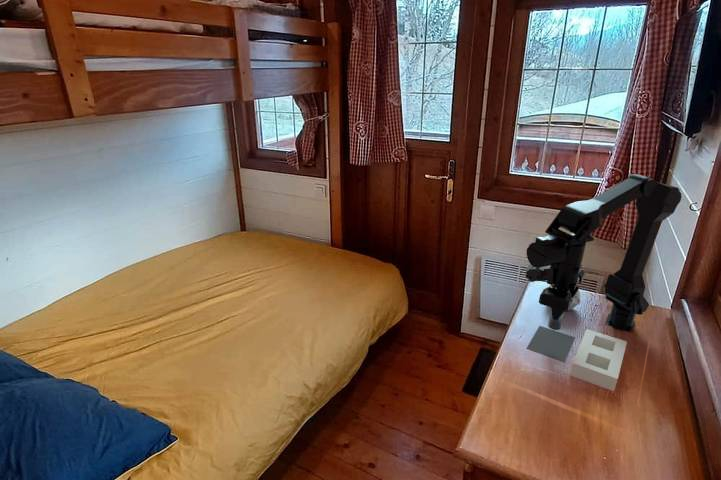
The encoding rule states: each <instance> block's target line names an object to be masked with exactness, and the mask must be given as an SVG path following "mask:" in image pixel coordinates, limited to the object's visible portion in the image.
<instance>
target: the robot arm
mask: <svg viewBox="0 0 721 480" xmlns="http://www.w3.org/2000/svg"><path fill="white" fill-rule="evenodd" d="M681 200H682V192H681V191H680V188H679V187H677V186H673V185H671V184H670V185H669V184H666V183H662V182H659V181H657V180H655V179H653V178H651V177H648V176H645V175H642V174H641V175H640V174H636V173H634V174H630V175H628V176H627V178H626V179H625V180H623V181H620V182H619V183H618V184H616V185H614V186H612V187H610V188H609V189H606V190H605V191H603V192H602V193H600V194H598V195H597V196H595V197H593V198H591V199H588V200H579V201H574V202H571V203H569V204H566V205H564V206H563V207H562V208H561V209H560V210H559V212H558V213H557V214H556V216H555V217H554V218H553V220H552V221H551V223H550V224H549V225H548V227H547V228H546V230H545V234H547V236H537V237H536V238H535V241H534V242H531V243H530V244H528V247H527V248H526V259H527V260H528V262H529V265H528V267H527V268H526V270H525V271H526V273H525V274H526V275H525V278H527V279H528V282H529V283H535V282H546V284H547V285H549V286H550V285H551V286H552V287H553V288H550V287H549V286H548V287H546V288H544V289H542V291H541V293H540V295H539V299H538V304H540V305H542V306H545V307H549V308H550V312H551V311H552V318H553V319H554V320H558V319H559V317H560V316H561V315H562V314H563V313H564V314H565V312H567V311H569V310H568V309H569V307H570V305H571V303H572V301H573V299H572V298H573V297H574V295H575V294H576V293H577V291H578V289H579V290H580V287H579V286H578V284H582V283H583V281H584V279H585V278H584V277H585V274H586V272H585V271H584V270H583V269H582V267H583V264H584V263H583V258H584V254H585V250H586V245H587V243H589V242H590V243H591V242H593V241H594V240H595V239H594V237H593V236H592V235H591V234H592V233H593V232H595V231H596V230H598V229H599V228H600V227H601V225H602V222H603V219H605V218H606V217H608V216H610V215H612V214H613V213H614V212H616V211H618V210H619V209H621V208H623V207H625V206H627V205H628V204H630V203H632V202H633V201H635V208H636V213H637V215H638V217H637V221H636V224H635V226H634V229H633V232H632V234H631V237H630V241H629V244H628V245H627V249H626V252H625V255H624V257H623V260H622V262H621V267H620V269H618V270H617V271H616V272H613V273H610V274H609V275H607V279H606V282H605V284H604V286H603V288H604V293H605V300H606V301H609V302H611V303H612V304H611V307H610V308H611V309H610V312H609V313H608V314H607V317H606V322H605V323H604V324H605V326H608V327H611V328H614V329H617V330H620V331H625V332H628V333H633V331H634V327H635V324H636V321H635V318H636V315H641V316H643V314H644V312H646V311H647V310H648V308H649V306H650V303H649V302H648V300H646V297H645V296H644V293H645V291H646V283H645V280H644V276H643V274H644V270H645V268H646V265H647V263H648V260H649V257H650V255H651V251H652V249H653V246H654V244H655V241H656V238H657V236H658V233H659V231H660V228H661V225H662V223H663V221H665V220H666V219H668V217H670V216H671V215H673V214H674V213H675V211H676V209H677V207H678V206H679V204H680V203H681ZM560 228H561V229H562V230H561V229H560ZM563 230H565V231H568V232H570V233H568V232H565V231H563Z"/></svg>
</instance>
